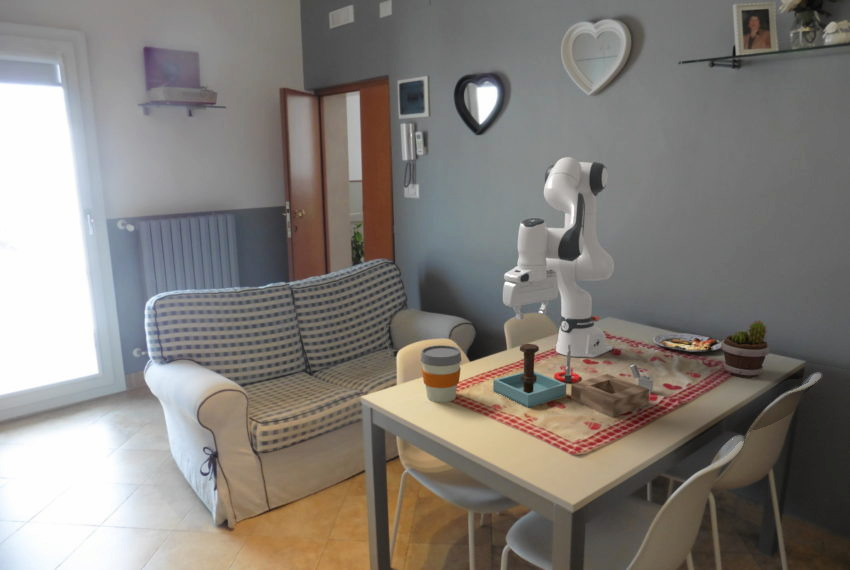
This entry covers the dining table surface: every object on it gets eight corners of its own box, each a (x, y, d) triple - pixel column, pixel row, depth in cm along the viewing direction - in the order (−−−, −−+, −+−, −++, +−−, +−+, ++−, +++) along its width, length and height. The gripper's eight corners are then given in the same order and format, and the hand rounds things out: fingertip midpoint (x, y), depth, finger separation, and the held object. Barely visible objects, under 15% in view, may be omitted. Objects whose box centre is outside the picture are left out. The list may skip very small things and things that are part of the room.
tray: (530, 381, 202) (530, 369, 202) (565, 396, 189) (566, 384, 189) (493, 391, 194) (493, 379, 193) (527, 407, 181) (528, 395, 180)
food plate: (732, 346, 237) (733, 337, 236) (708, 360, 221) (708, 351, 221) (670, 335, 255) (670, 327, 254) (643, 348, 239) (643, 339, 239)
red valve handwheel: (553, 374, 210) (555, 382, 201) (554, 338, 208) (556, 344, 199) (578, 375, 209) (581, 384, 200) (579, 339, 207) (582, 345, 198)
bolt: (540, 393, 190) (541, 347, 187) (527, 396, 187) (528, 349, 185) (528, 387, 195) (530, 342, 192) (516, 390, 192) (517, 344, 190)
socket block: (606, 388, 195) (606, 374, 194) (648, 404, 182) (649, 388, 181) (570, 399, 186) (571, 384, 185) (612, 417, 173) (613, 401, 172)
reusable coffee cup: (468, 393, 192) (468, 348, 189) (449, 407, 182) (449, 359, 179) (434, 387, 199) (433, 343, 196) (413, 400, 188) (413, 353, 185)
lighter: (652, 392, 192) (654, 367, 190) (650, 393, 191) (651, 369, 189) (630, 386, 196) (632, 363, 195) (628, 388, 195) (629, 364, 194)
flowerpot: (711, 373, 207) (716, 317, 203) (728, 363, 218) (733, 308, 214) (758, 384, 197) (764, 324, 193) (773, 372, 207) (779, 315, 203)
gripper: (549, 267, 193) (548, 309, 196) (499, 275, 182) (499, 319, 185) (563, 270, 188) (562, 313, 191) (513, 278, 177) (513, 324, 180)
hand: (531, 316), depth 188 cm, fingers open, 8 cm apart
